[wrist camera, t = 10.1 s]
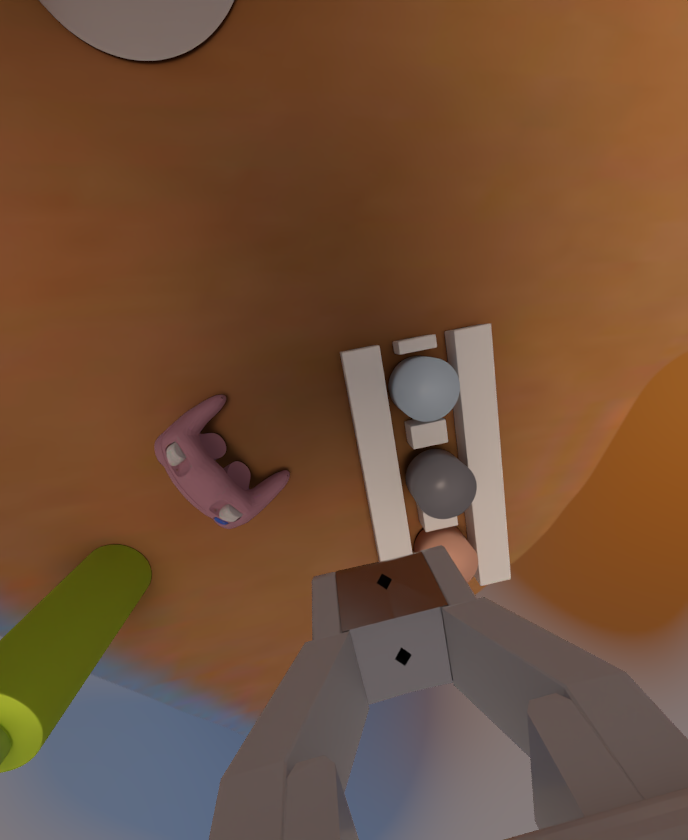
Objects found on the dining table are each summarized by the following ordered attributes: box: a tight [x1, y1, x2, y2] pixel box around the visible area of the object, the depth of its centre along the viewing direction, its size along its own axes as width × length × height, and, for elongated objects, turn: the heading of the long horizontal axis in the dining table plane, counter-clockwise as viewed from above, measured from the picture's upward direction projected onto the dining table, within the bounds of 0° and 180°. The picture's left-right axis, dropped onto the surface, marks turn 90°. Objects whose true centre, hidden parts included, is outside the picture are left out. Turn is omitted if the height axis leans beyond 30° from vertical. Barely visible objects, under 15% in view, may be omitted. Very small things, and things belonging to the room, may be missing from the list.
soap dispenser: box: [0, 544, 152, 773], centre depth 21 cm, size 6×7×20 cm
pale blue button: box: [388, 356, 460, 422], centre depth 28 cm, size 5×5×3 cm
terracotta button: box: [414, 526, 478, 583], centre depth 32 cm, size 5×5×3 cm
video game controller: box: [155, 395, 290, 529], centre depth 27 cm, size 10×5×7 cm, turn 36°
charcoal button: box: [406, 449, 477, 519], centre depth 28 cm, size 5×5×3 cm
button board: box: [340, 324, 511, 586], centre depth 30 cm, size 24×12×2 cm, turn 11°
